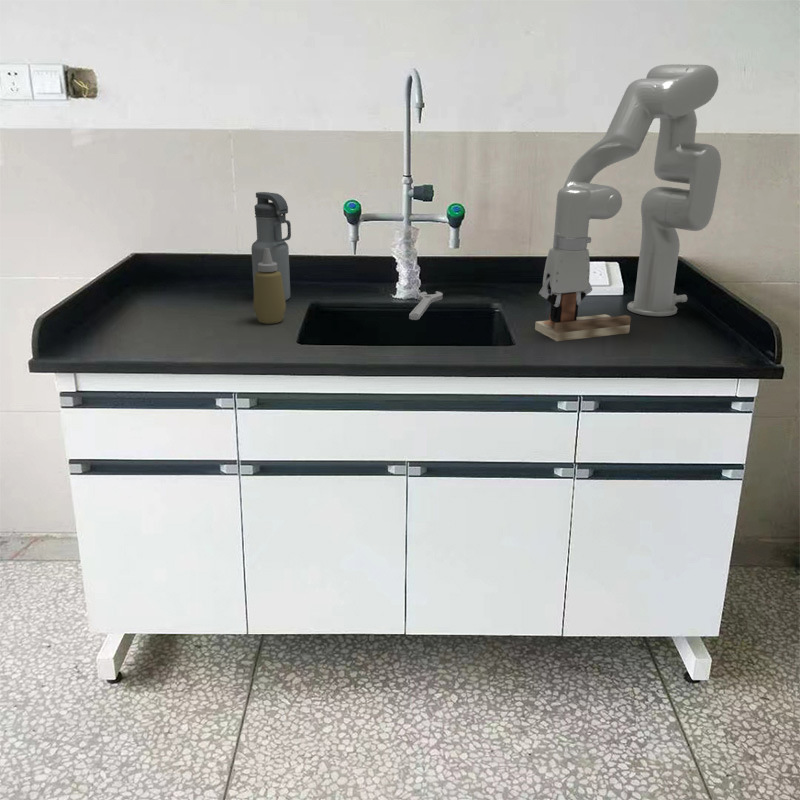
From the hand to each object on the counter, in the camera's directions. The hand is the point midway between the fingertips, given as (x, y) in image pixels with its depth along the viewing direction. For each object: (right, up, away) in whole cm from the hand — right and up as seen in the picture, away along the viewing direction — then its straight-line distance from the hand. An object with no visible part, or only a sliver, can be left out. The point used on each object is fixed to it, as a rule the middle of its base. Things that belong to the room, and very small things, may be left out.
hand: (563, 320), depth 193 cm
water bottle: (-73, +8, +29) cm, 79 cm away
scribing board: (+5, -2, +4) cm, 7 cm away
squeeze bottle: (-71, +1, +9) cm, 71 cm away
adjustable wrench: (-33, +5, +24) cm, 41 cm away
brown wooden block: (-1, -1, +2) cm, 2 cm away
